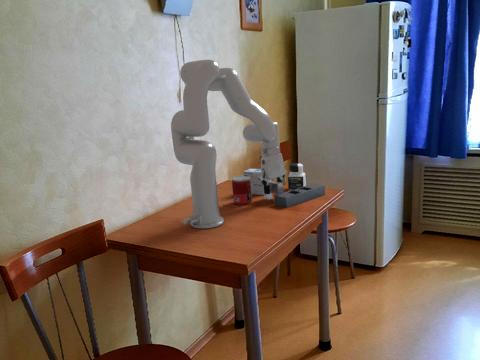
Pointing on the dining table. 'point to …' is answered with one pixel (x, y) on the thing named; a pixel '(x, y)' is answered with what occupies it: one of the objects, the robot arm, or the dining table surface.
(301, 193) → the grey slotted block
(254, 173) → the light bulb box
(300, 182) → the medicine bottle
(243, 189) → the canned food
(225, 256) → the dining table surface
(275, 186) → the clip
